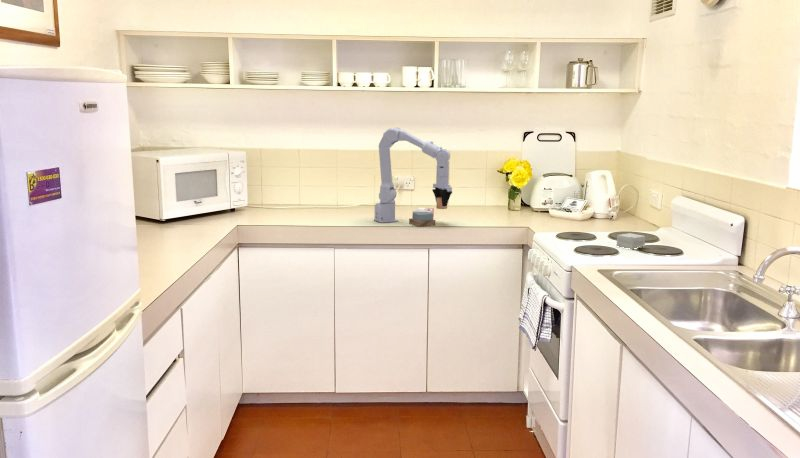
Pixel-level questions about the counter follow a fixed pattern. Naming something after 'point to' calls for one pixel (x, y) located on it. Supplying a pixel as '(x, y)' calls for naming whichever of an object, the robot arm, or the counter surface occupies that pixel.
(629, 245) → the small box
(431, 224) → the walnut slab
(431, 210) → the ink box
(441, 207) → the terracotta cylinder
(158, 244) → the counter surface
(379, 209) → the robot arm
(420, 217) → the slate block
